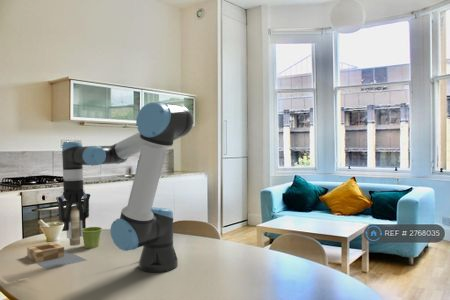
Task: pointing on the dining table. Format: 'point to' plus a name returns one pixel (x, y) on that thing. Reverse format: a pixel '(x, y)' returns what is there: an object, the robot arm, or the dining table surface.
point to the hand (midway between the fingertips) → (74, 236)
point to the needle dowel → (75, 226)
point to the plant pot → (91, 236)
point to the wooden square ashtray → (45, 252)
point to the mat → (60, 260)
